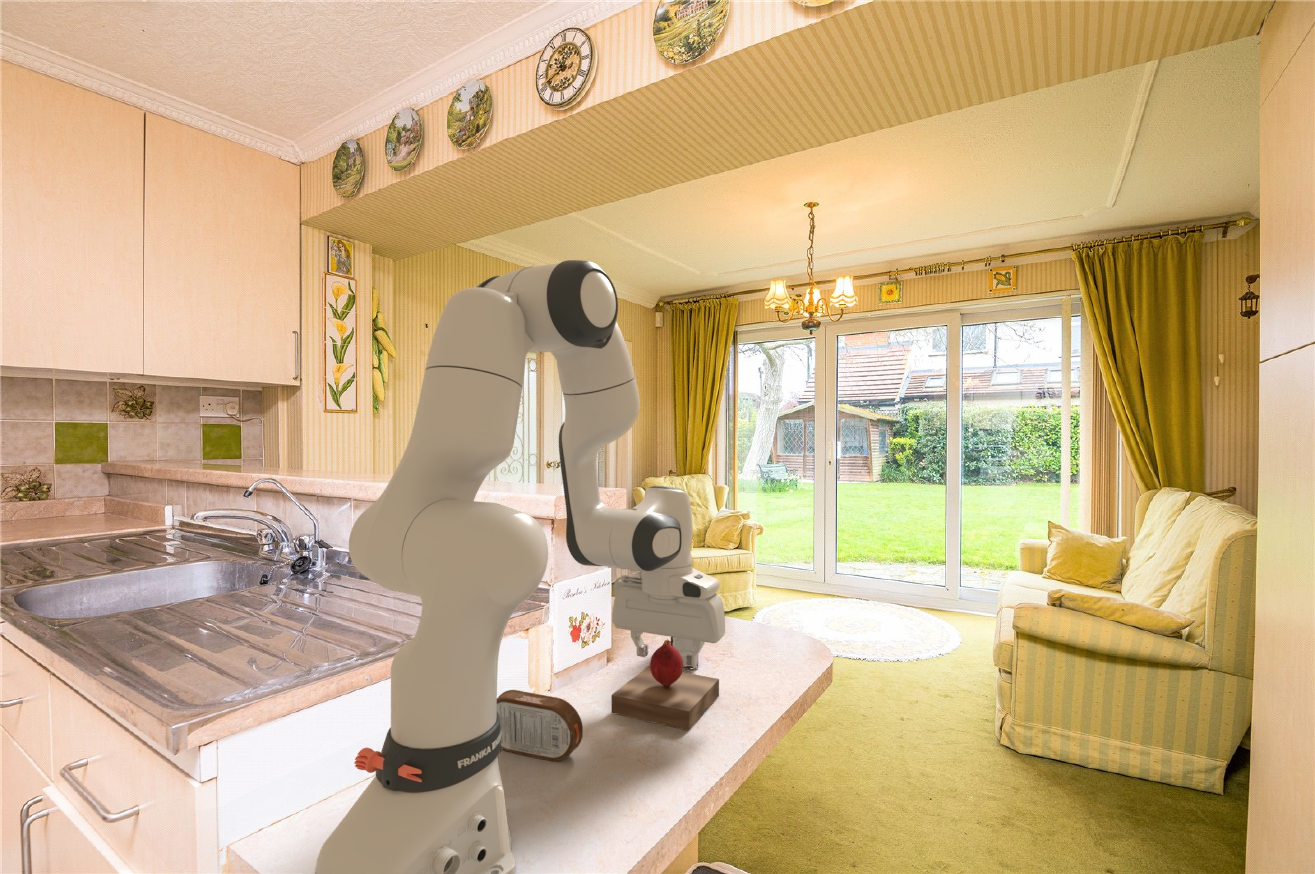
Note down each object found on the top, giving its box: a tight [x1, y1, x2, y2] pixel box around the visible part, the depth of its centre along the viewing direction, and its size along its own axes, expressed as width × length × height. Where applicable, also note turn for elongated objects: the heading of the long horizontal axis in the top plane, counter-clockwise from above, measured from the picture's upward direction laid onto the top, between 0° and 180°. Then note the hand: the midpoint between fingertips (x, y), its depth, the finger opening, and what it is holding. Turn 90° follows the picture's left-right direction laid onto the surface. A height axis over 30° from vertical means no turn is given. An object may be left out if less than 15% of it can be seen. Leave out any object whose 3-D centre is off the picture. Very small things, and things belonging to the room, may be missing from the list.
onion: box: [649, 639, 684, 687], centre depth 102 cm, size 6×6×8 cm
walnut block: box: [610, 665, 720, 731], centre depth 102 cm, size 14×14×3 cm
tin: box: [497, 689, 584, 762], centre depth 86 cm, size 15×3×8 cm, turn 70°
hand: (666, 660), depth 102 cm, fingers open, 8 cm apart
